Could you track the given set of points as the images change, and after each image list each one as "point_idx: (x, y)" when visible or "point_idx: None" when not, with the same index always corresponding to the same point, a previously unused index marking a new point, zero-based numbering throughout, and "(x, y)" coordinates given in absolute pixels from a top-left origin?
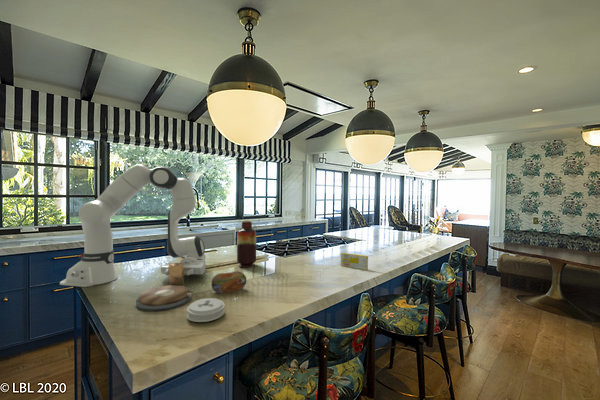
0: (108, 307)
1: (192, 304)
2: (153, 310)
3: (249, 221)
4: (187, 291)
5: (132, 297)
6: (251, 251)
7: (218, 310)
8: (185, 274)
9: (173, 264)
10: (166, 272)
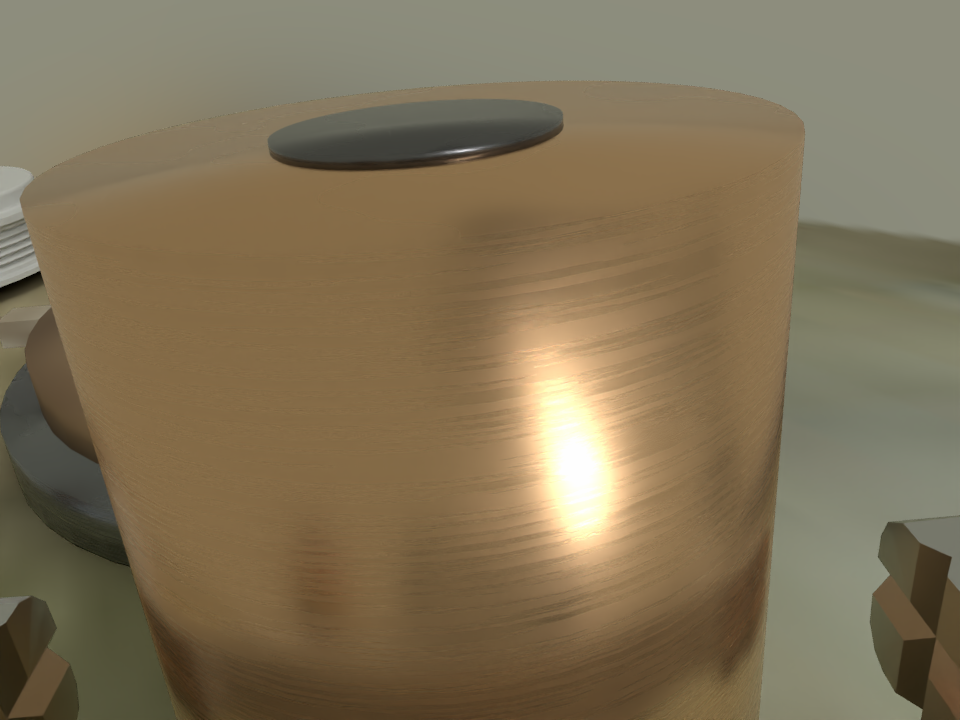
0: (850, 253)
1: (4, 184)
2: None
3: None
4: (49, 327)
5: (886, 369)
6: None
7: None
8: (63, 673)
9: (532, 104)
10: (953, 525)
